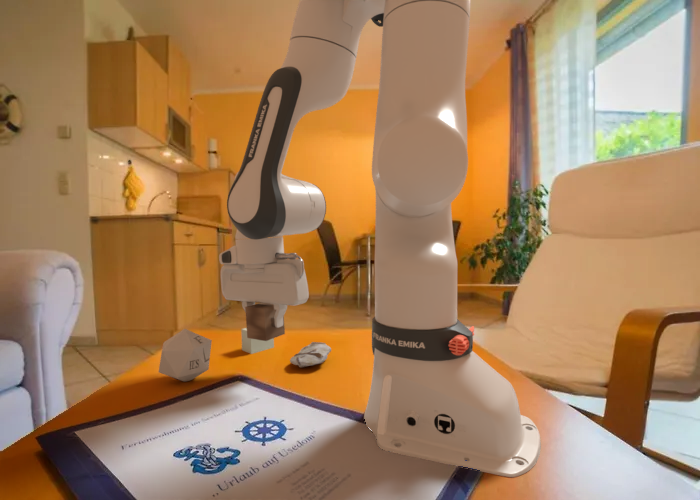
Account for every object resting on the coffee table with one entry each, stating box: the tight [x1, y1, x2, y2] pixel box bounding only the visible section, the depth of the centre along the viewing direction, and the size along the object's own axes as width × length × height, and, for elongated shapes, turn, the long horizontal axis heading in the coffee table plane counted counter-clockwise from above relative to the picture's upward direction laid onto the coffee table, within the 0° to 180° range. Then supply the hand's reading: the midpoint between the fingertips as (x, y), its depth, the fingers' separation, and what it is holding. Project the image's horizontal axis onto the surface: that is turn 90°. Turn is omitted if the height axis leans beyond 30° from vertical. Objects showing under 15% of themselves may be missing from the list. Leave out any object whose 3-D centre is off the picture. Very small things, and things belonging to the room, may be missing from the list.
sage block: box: [241, 327, 275, 355], centre depth 84 cm, size 4×6×5 cm, turn 137°
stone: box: [289, 341, 332, 368], centre depth 75 cm, size 10×7×3 cm
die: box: [158, 328, 212, 383], centre depth 66 cm, size 8×9×10 cm
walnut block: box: [245, 302, 286, 341], centre depth 70 cm, size 5×5×6 cm
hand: (265, 325), depth 70 cm, fingers closed on walnut block, 5 cm apart
